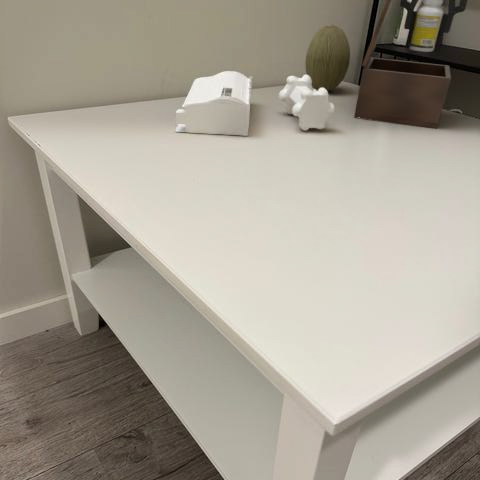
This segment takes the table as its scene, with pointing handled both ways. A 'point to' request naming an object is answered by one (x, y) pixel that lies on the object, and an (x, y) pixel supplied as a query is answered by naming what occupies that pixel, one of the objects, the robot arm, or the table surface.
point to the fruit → (328, 58)
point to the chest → (403, 92)
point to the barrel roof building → (217, 105)
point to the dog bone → (306, 102)
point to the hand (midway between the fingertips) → (421, 48)
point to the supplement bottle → (427, 26)
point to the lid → (377, 31)
